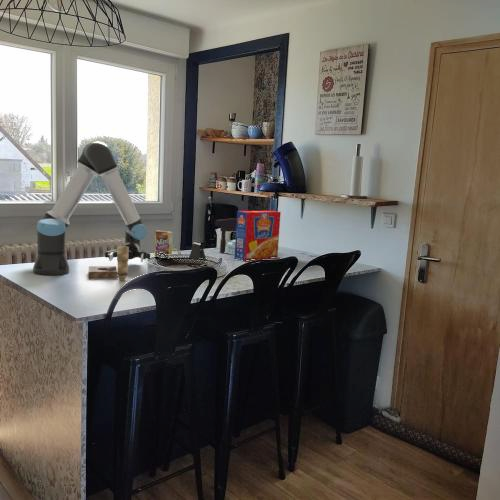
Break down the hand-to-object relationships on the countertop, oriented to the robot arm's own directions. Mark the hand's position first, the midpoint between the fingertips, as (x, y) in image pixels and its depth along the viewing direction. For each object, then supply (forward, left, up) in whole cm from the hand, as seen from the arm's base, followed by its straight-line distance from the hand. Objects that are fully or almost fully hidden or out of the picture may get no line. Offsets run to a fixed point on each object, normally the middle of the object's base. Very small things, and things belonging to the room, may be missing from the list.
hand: (126, 258), depth 217 cm
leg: (-2, -5, -9) cm, 10 cm away
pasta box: (+78, +49, -9) cm, 93 cm away
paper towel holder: (+72, +74, -9) cm, 103 cm away
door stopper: (+38, +28, -9) cm, 48 cm away
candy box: (+23, +48, -9) cm, 54 cm away
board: (-10, +5, -9) cm, 14 cm away
